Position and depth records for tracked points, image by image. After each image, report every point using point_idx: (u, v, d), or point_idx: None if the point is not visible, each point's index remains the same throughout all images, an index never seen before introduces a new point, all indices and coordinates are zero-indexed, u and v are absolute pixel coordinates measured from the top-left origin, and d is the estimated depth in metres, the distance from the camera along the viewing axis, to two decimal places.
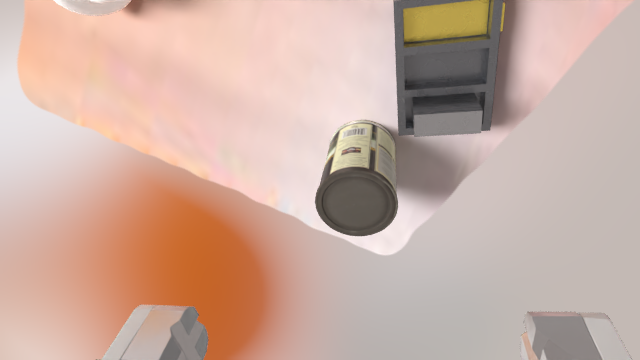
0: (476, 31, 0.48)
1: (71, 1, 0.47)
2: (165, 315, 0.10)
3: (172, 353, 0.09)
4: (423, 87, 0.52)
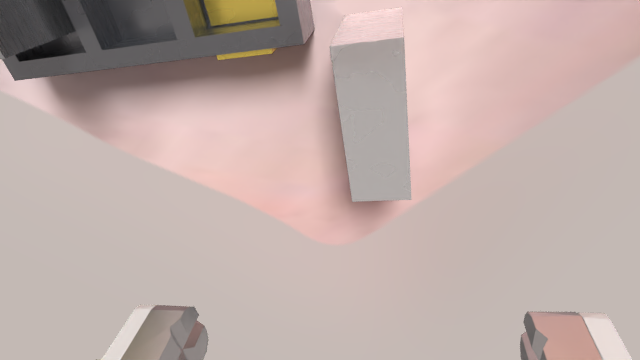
0: (212, 1, 0.21)
1: None
2: (165, 315, 0.10)
3: (172, 353, 0.09)
4: None
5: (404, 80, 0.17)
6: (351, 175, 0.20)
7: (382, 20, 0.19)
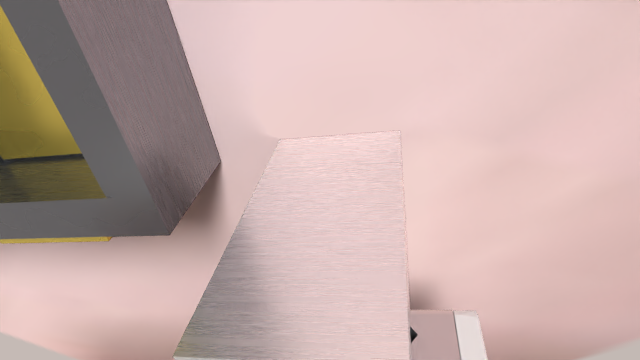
0: None
1: None
2: None
3: None
4: None
5: None
6: None
7: (352, 194, 0.08)
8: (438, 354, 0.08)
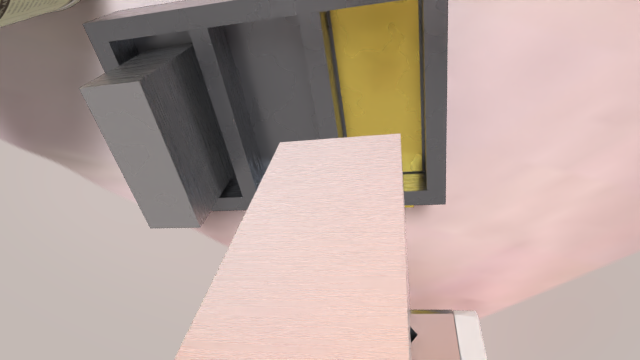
0: None
1: None
2: None
3: None
4: (225, 72, 0.21)
5: None
6: None
7: (352, 198, 0.08)
8: (437, 354, 0.08)
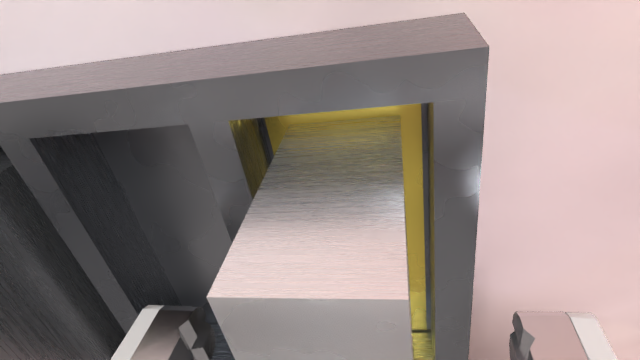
0: None
1: None
2: (174, 315, 0.10)
3: (181, 353, 0.09)
4: (87, 199, 0.12)
5: None
6: None
7: (357, 169, 0.08)
8: (563, 359, 0.07)
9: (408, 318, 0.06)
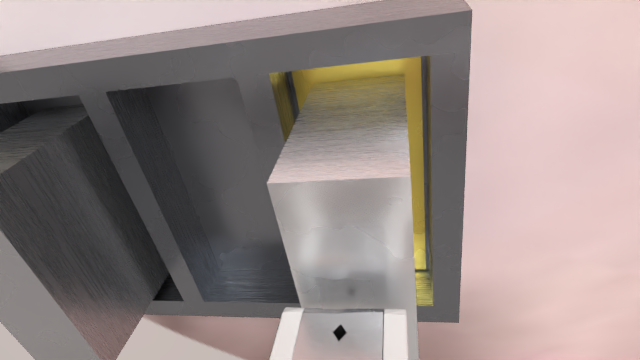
0: None
1: None
2: (322, 319, 0.09)
3: None
4: (143, 148, 0.14)
5: (411, 243, 0.09)
6: None
7: (371, 109, 0.11)
8: (362, 351, 0.08)
9: (410, 192, 0.08)
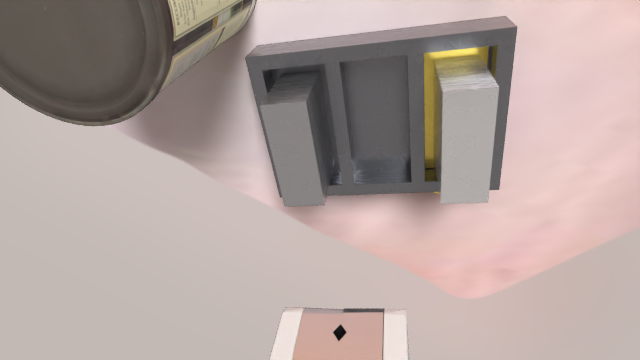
0: (430, 155, 0.32)
1: None
2: (322, 319, 0.09)
3: None
4: (343, 92, 0.29)
5: (495, 116, 0.23)
6: (443, 184, 0.26)
7: (471, 68, 0.25)
8: (362, 351, 0.08)
9: (498, 93, 0.22)
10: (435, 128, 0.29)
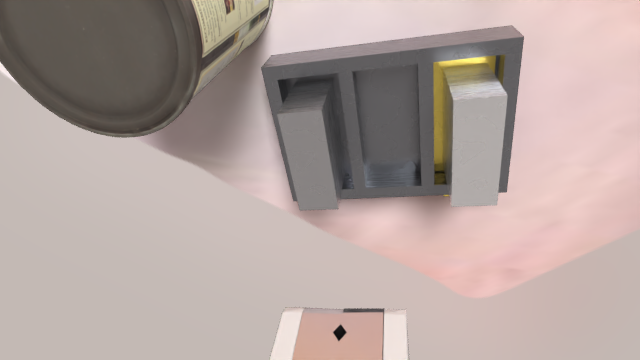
0: (439, 159, 0.33)
1: None
2: (322, 319, 0.09)
3: None
4: (356, 100, 0.30)
5: (504, 122, 0.24)
6: (454, 187, 0.27)
7: (479, 76, 0.26)
8: (362, 351, 0.08)
9: (506, 101, 0.23)
10: (444, 133, 0.30)
